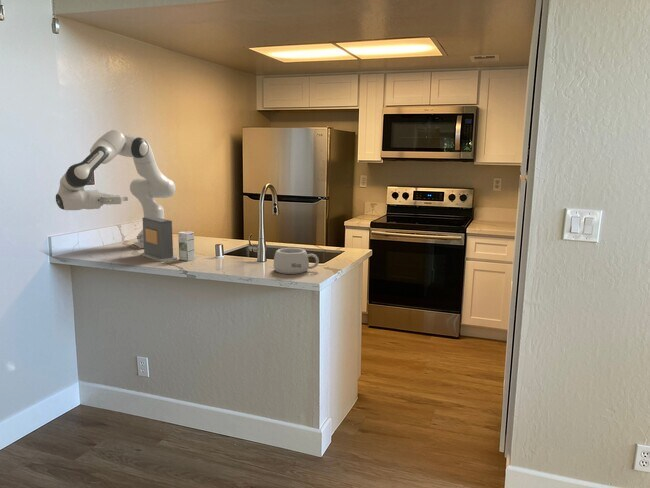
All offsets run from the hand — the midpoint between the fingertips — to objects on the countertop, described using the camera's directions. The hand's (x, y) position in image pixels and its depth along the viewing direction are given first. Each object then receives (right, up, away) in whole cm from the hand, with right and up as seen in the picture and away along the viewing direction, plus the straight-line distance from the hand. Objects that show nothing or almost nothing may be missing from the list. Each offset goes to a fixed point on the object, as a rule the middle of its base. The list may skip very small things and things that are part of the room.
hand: (123, 197), depth 257 cm
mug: (+85, -36, -8) cm, 92 cm away
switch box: (+12, -29, +18) cm, 36 cm away
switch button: (+10, -22, +15) cm, 28 cm away
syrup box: (+28, -31, +13) cm, 44 cm away
